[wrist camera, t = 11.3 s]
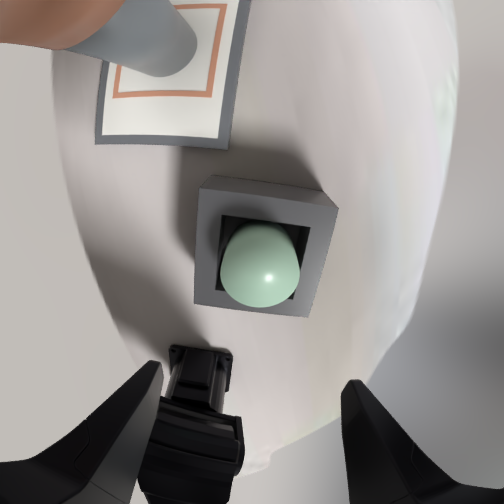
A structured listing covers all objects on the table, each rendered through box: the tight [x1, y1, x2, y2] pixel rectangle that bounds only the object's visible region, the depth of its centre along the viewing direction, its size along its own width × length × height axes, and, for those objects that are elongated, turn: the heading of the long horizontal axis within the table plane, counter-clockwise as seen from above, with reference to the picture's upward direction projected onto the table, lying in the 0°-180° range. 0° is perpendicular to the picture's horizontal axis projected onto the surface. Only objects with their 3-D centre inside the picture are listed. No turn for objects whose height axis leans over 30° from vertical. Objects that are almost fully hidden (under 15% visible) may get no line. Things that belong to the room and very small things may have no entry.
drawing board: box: [95, 0, 251, 150], centre depth 14 cm, size 14×10×1 cm
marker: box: [0, 0, 197, 77], centre depth 8 cm, size 5×5×13 cm
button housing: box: [194, 175, 339, 317], centre depth 19 cm, size 8×8×4 cm
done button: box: [220, 220, 300, 308], centre depth 17 cm, size 4×4×3 cm
